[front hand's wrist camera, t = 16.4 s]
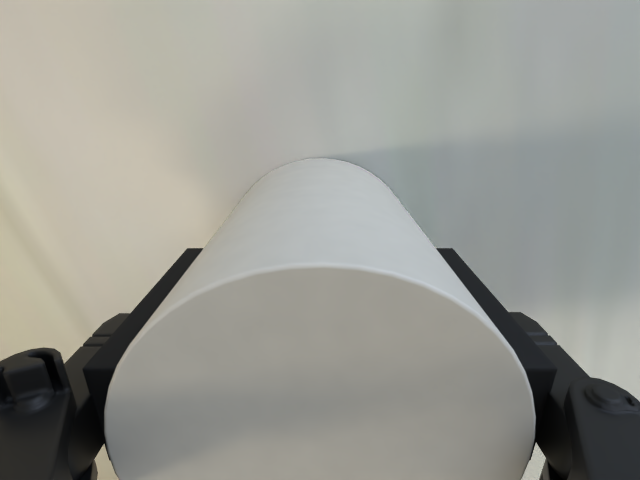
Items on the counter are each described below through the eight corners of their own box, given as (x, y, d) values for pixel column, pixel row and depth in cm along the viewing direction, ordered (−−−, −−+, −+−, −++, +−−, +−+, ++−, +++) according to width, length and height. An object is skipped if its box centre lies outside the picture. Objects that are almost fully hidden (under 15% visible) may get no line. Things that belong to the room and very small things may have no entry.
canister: (443, 203, 16) (634, 367, 6) (361, 346, 19) (406, 612, 9) (267, 124, 15) (165, 178, 5) (207, 289, 18) (67, 528, 8)
